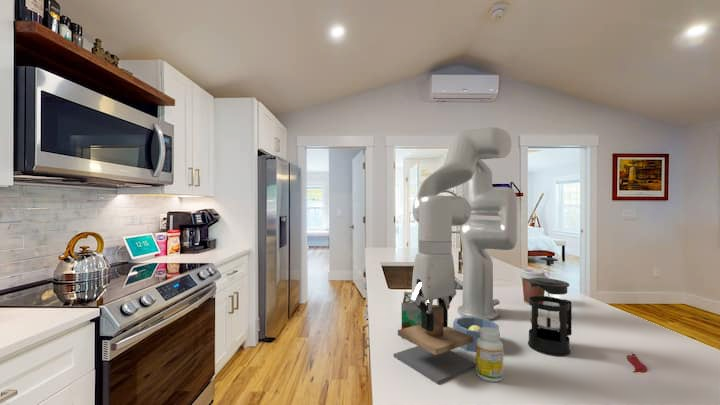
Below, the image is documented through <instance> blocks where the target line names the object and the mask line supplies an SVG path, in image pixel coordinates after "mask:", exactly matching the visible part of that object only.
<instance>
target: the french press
mask: <svg viewBox="0 0 720 405" xmlns="http://www.w3.org/2000/svg"><path fill="white" fill-rule="evenodd" d="M539 260H540V261H546V266H547V277H548V278H531V279H529V282H530V283H531V287H536V286H540V287H541V288H542V289H544V290H545V292H547V296H546V295H544V296H532V297H529V306H531V318H529V321H530V324H531V328H530V329H529V330H528V340H527V346H528V347H529V348H531V349H532V350H534V351H536V352H538V353H540V354H543V355H547V356H553V357H567V356H569V355H571V348H570V337H569V336H572V328H573V327H572V318H573V317H572V311H573V310H572V301H571V300H568V299H562V298H559V297H553V296H550V295H558V296H559V295H567V294H568V287H570V283H569V282H567V281H565V280H560V279H556V278H555V279H554V278H550V267H551V264H552V262H558V261H559V259H557V258H556V257H555V258H553V257H545V256H544V257H543V256H542V257H540V258H539ZM538 301H544V302H547V304H539V303H538ZM550 303H553V304H557V305H550ZM539 310H542V311H547V317H545V316H539ZM550 312H553V313H554V312H555V313H557V312H558V319H557V318H551V317H550Z"/></svg>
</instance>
